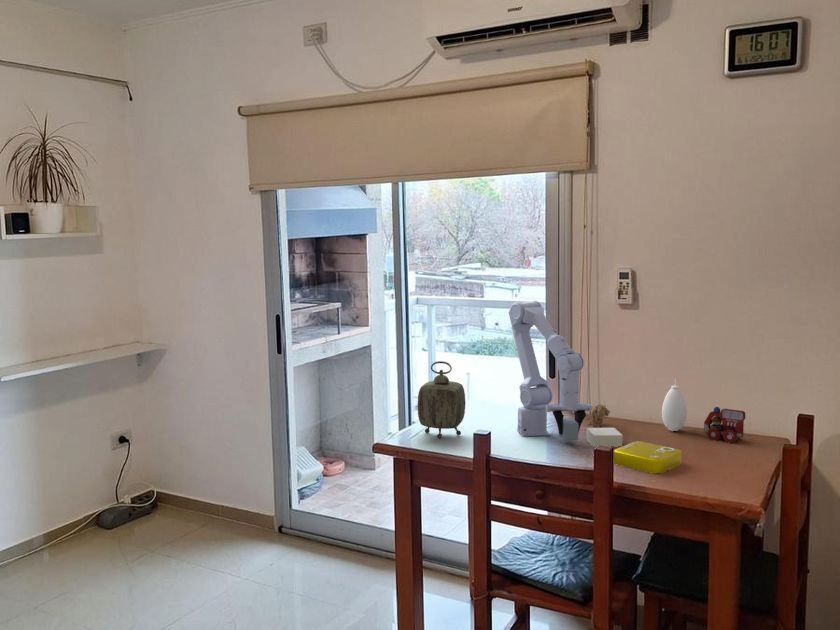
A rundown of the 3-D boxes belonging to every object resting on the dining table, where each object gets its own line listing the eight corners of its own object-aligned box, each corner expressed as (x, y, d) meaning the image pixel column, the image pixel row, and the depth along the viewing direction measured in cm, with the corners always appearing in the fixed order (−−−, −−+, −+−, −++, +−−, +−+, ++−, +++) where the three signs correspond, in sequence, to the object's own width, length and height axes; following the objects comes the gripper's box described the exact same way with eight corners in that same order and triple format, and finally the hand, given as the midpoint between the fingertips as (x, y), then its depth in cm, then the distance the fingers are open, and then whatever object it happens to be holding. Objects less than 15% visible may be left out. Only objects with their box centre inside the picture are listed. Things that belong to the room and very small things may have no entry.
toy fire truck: (708, 433, 242) (709, 403, 241) (747, 440, 234) (748, 408, 233) (700, 438, 237) (702, 406, 236) (740, 445, 229) (742, 412, 228)
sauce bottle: (689, 430, 246) (691, 377, 244) (680, 435, 240) (683, 381, 238) (666, 426, 251) (668, 375, 249) (657, 431, 245) (659, 378, 243)
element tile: (636, 453, 222) (636, 438, 221) (683, 464, 211) (684, 448, 210) (610, 464, 211) (610, 448, 211) (658, 476, 200) (659, 459, 200)
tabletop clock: (465, 434, 241) (465, 360, 239) (459, 442, 233) (459, 364, 230) (423, 431, 245) (423, 358, 243) (415, 438, 237) (415, 362, 234)
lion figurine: (611, 431, 245) (612, 405, 244) (596, 432, 244) (596, 406, 243) (594, 420, 259) (595, 396, 258) (580, 421, 259) (581, 396, 258)
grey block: (563, 440, 228) (564, 423, 227) (558, 435, 234) (559, 418, 233) (578, 440, 228) (578, 423, 227) (572, 435, 234) (573, 418, 233)
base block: (593, 448, 227) (593, 435, 227) (586, 439, 236) (586, 427, 236) (622, 447, 227) (622, 435, 227) (613, 439, 236) (614, 427, 236)
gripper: (550, 394, 225) (549, 437, 226) (596, 393, 226) (594, 436, 227) (544, 389, 232) (543, 431, 233) (589, 389, 233) (588, 430, 234)
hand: (568, 433), depth 231 cm, fingers closed on grey block, 4 cm apart
